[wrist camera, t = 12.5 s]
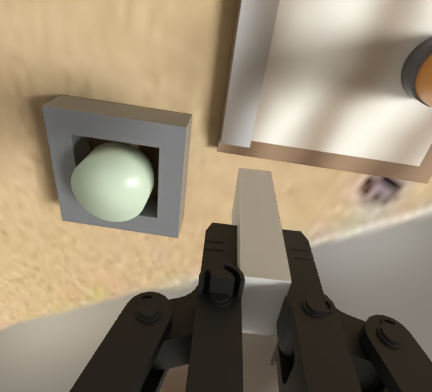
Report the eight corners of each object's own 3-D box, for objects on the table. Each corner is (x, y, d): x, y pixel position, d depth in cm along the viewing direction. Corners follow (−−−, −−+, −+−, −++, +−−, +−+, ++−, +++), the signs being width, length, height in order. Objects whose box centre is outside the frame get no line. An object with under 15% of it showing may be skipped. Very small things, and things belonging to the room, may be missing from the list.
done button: (90, 196, 29) (75, 216, 26) (83, 136, 26) (66, 151, 23) (154, 206, 29) (145, 226, 26) (156, 147, 26) (146, 164, 23)
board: (218, 146, 27) (216, 154, 26) (247, -57, 20) (247, -61, 18) (421, 177, 27) (429, 186, 26) (529, -14, 20) (549, -14, 18)
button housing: (76, 202, 32) (62, 220, 29) (61, 94, 26) (41, 105, 23) (183, 218, 32) (177, 237, 29) (192, 114, 26) (186, 127, 23)
